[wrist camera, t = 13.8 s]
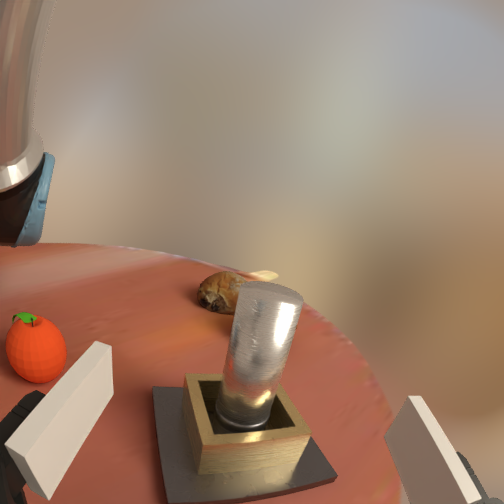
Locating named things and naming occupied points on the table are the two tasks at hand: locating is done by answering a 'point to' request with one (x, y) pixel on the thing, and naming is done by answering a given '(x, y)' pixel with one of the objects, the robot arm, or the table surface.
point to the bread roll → (220, 292)
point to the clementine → (35, 348)
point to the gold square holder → (232, 449)
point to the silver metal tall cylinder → (255, 356)
